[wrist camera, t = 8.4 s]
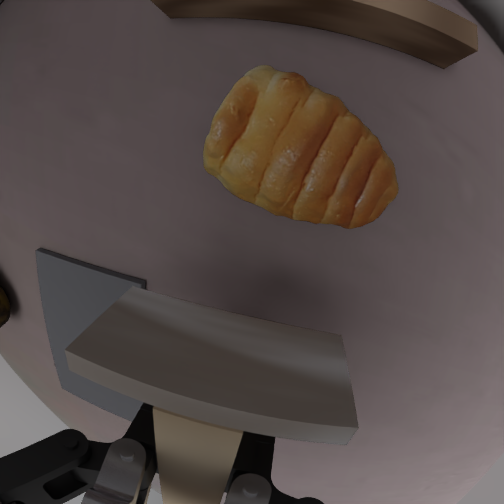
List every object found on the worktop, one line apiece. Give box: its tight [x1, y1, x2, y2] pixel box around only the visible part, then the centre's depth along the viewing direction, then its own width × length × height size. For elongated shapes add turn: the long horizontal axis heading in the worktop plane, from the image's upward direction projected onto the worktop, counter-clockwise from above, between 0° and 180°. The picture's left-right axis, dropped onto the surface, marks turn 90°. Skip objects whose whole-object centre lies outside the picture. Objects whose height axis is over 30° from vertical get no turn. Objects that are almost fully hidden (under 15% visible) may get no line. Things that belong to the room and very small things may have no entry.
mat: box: [36, 248, 145, 421], centre depth 21 cm, size 10×15×1 cm, turn 170°
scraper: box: [65, 286, 359, 504], centre depth 10 cm, size 11×8×4 cm
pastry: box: [203, 65, 398, 229], centre depth 13 cm, size 9×7×4 cm
